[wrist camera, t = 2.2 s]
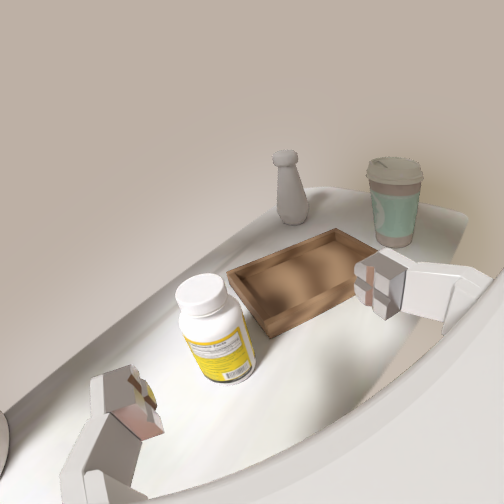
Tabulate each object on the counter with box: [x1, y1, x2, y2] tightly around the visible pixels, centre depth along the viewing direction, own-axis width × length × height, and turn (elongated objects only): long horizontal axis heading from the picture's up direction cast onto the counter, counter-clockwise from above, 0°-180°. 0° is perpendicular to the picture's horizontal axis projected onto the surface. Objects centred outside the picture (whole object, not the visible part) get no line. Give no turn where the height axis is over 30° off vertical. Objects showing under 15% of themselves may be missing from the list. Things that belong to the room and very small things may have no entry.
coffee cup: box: [366, 157, 424, 248], centre depth 38 cm, size 9×8×12 cm
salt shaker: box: [273, 150, 309, 225], centre depth 50 cm, size 6×6×13 cm
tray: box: [226, 228, 378, 339], centre depth 36 cm, size 18×12×2 cm, turn 114°
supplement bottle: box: [175, 273, 256, 386], centre depth 24 cm, size 5×5×10 cm
